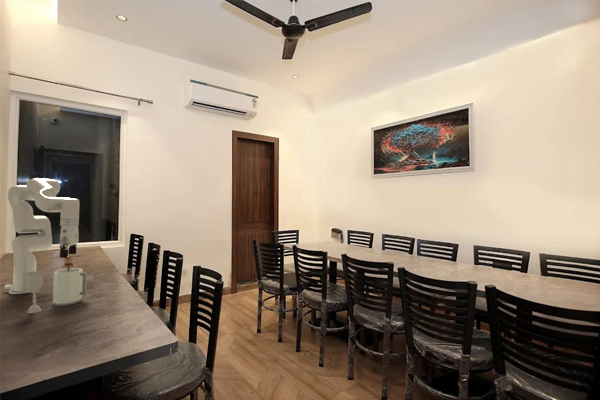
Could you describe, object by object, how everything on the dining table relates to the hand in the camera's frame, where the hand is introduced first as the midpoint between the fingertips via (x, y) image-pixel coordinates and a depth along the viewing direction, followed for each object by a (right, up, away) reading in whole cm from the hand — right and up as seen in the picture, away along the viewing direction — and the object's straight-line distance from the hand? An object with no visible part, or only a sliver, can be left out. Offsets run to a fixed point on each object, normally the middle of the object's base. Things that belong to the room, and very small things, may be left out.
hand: (68, 255), depth 152 cm
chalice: (-5, -24, -14) cm, 28 cm away
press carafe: (0, -24, 0) cm, 24 cm away
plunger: (0, -22, 0) cm, 22 cm away
